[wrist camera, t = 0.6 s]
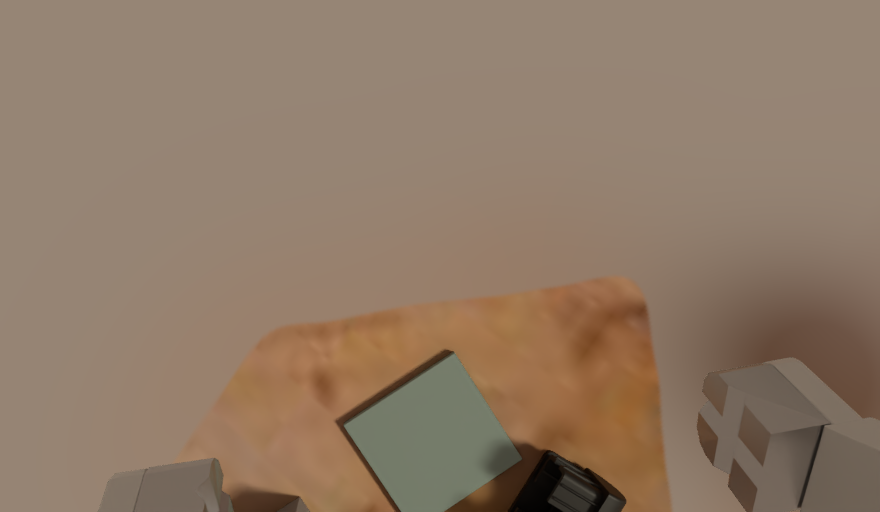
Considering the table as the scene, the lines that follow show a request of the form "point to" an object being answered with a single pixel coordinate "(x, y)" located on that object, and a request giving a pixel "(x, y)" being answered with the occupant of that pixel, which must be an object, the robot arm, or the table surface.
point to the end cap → (566, 489)
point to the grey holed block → (295, 506)
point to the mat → (433, 439)
